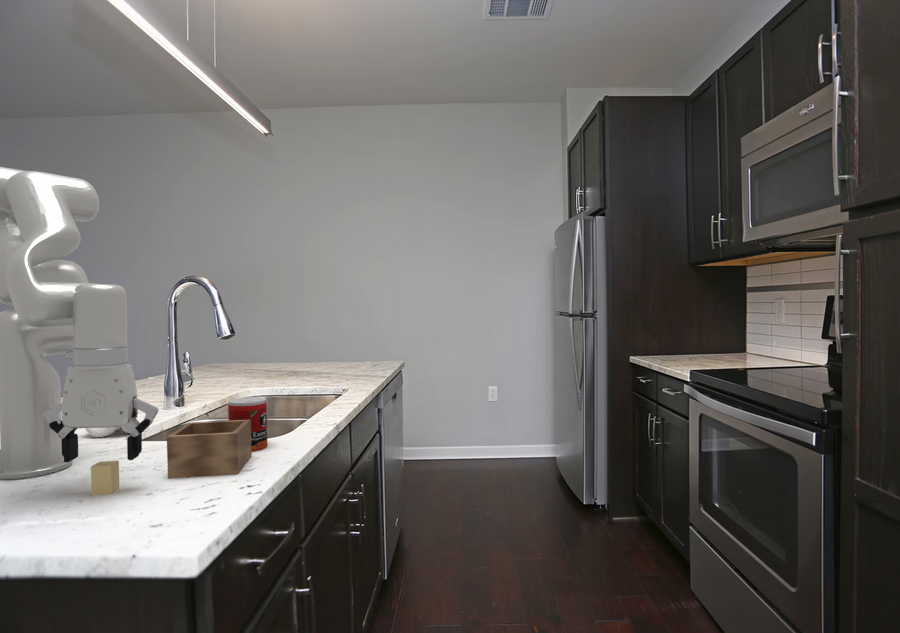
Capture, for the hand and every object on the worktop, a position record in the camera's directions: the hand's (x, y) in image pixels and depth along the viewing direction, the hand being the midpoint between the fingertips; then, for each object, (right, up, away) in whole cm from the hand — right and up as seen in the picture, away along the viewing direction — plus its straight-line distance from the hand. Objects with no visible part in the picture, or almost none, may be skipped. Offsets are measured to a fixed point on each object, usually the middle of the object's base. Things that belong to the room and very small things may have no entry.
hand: (102, 458), depth 90 cm
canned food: (+15, -5, +26) cm, 31 cm away
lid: (+1, -7, 0) cm, 6 cm away
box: (+13, -5, +13) cm, 19 cm away
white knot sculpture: (-25, -6, +44) cm, 51 cm away
